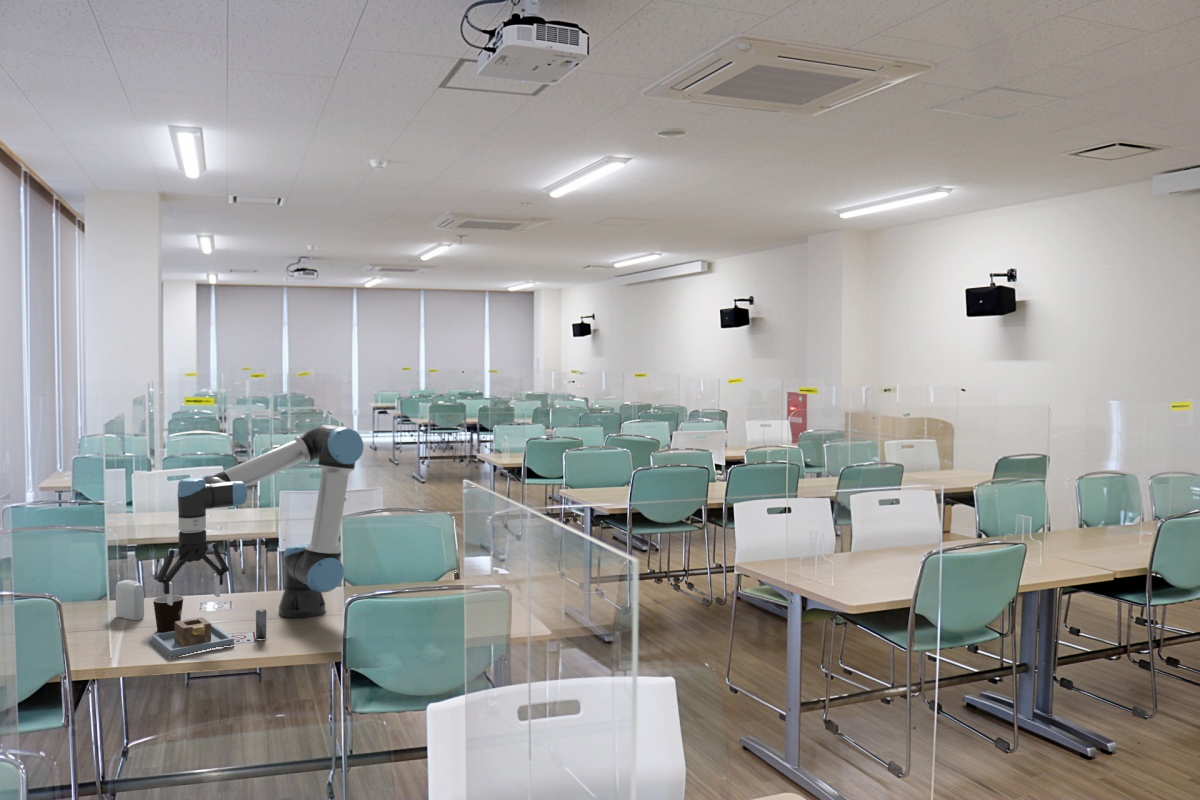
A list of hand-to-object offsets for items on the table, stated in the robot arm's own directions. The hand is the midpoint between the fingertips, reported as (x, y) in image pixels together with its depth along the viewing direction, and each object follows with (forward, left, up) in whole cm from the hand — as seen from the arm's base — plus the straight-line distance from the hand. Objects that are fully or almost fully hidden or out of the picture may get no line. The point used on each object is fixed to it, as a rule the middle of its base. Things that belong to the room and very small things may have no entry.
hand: (193, 600), depth 276 cm
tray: (0, 0, -14) cm, 14 cm away
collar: (0, 0, -13) cm, 13 cm away
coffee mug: (0, -20, -14) cm, 24 cm away
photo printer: (+7, -40, -14) cm, 43 cm away
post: (-18, +7, -14) cm, 23 cm away
